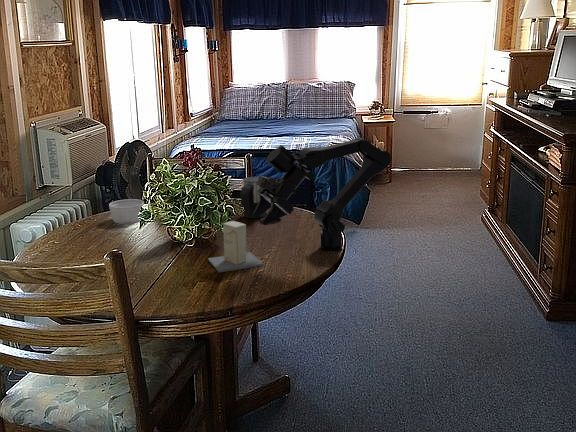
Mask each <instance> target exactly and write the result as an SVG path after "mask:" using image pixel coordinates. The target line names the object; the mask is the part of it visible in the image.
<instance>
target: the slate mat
mask: <svg viewBox="0 0 576 432" xmlns="http://www.w3.org/2000/svg"><path fill="white" fill-rule="evenodd" d="M207 261H208V262H209V263H210V264H211V266H212V267H214V269H215V270H216V271H217V272H218V273H224V272H230V271H231V272H232V271H237V270H243V269H250V268H256V267H262V266H263V265H264V264H263V262H262V261H261V260H260V259H259V258H257V257H256V255H254V254H253V253H252V252H250V251H248V252H247V251H246V262H243V263H240V264H237V265H236V264H233V263H231V262H228V261H226V260H224V255H222V256H221V255H220V256H213V257H209V258H207Z"/></svg>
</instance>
